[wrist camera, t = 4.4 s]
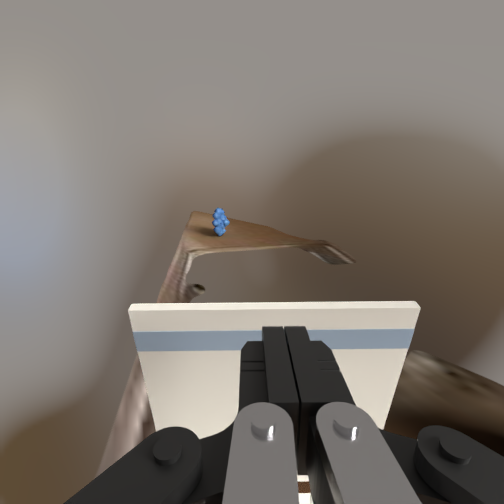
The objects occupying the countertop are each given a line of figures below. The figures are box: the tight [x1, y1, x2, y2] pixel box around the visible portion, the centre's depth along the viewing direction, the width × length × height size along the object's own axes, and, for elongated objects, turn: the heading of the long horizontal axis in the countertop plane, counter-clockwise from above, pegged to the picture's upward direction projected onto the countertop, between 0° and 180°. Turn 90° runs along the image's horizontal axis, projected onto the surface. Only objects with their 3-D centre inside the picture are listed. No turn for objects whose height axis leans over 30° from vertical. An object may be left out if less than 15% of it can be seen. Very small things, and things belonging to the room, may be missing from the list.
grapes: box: [212, 208, 230, 236], centre depth 125 cm, size 12×7×12 cm, turn 166°
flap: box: [128, 301, 420, 481], centre depth 17 cm, size 1×13×14 cm, turn 92°
